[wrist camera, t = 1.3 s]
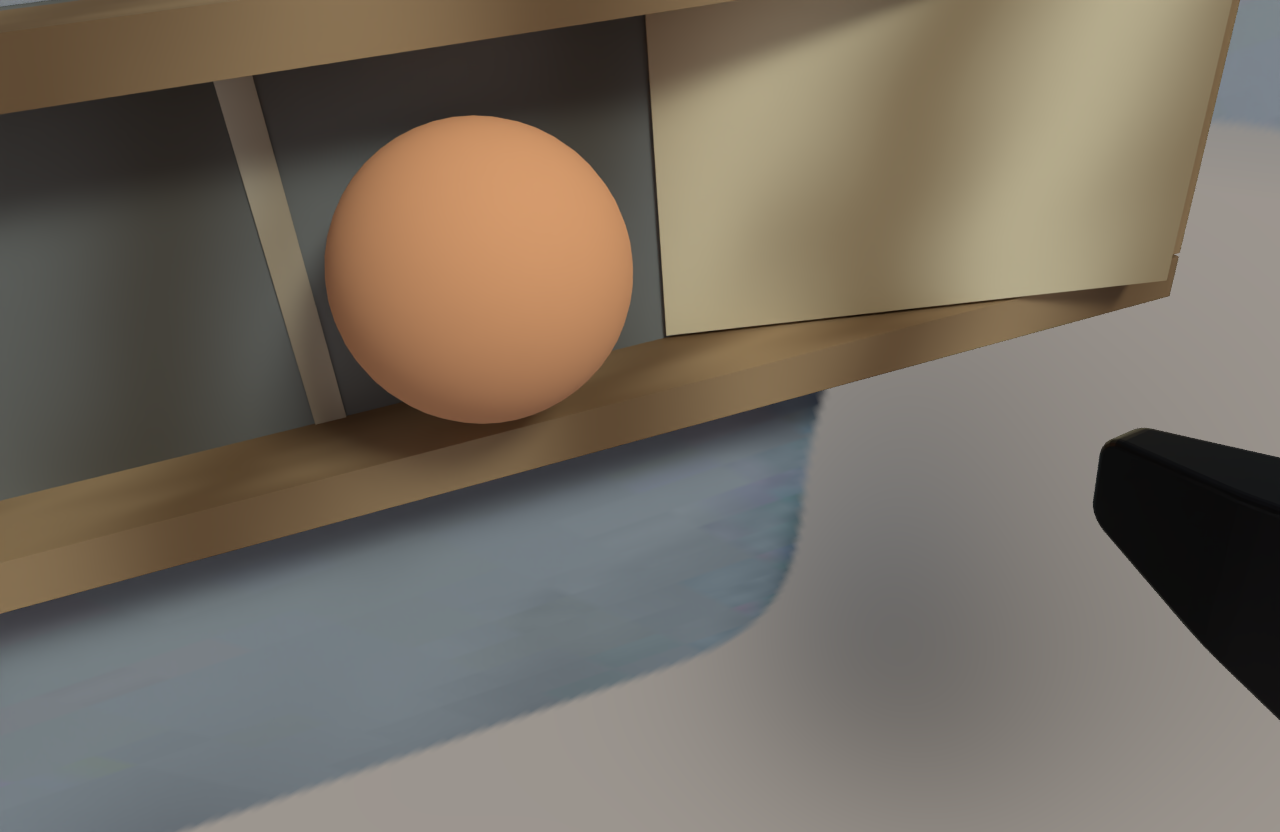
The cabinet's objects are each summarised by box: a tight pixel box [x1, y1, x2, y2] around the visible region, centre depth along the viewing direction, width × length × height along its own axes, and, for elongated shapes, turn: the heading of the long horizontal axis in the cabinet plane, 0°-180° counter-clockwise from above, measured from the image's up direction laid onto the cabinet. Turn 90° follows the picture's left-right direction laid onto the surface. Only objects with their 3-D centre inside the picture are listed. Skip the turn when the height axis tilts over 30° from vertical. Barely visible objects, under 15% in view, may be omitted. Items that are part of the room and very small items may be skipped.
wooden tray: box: [0, 0, 1240, 614], centre depth 18 cm, size 27×9×5 cm, turn 95°
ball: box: [324, 115, 633, 424], centre depth 17 cm, size 5×5×5 cm
